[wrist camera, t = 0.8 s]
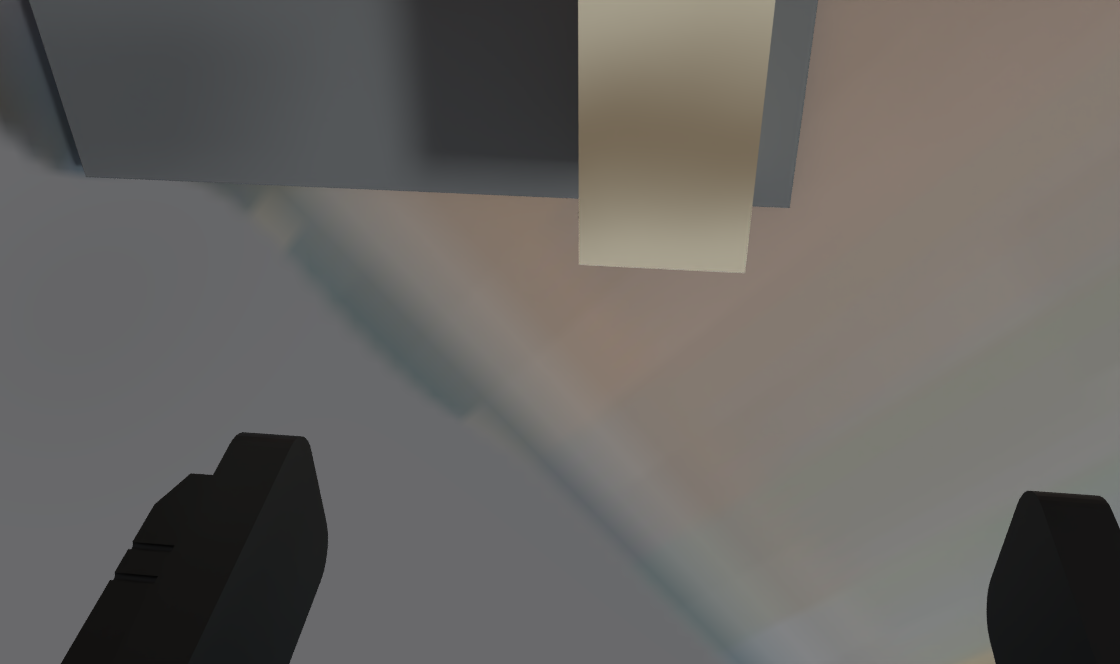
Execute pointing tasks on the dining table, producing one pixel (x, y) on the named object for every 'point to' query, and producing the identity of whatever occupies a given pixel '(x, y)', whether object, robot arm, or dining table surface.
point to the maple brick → (670, 130)
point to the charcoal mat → (359, 92)
